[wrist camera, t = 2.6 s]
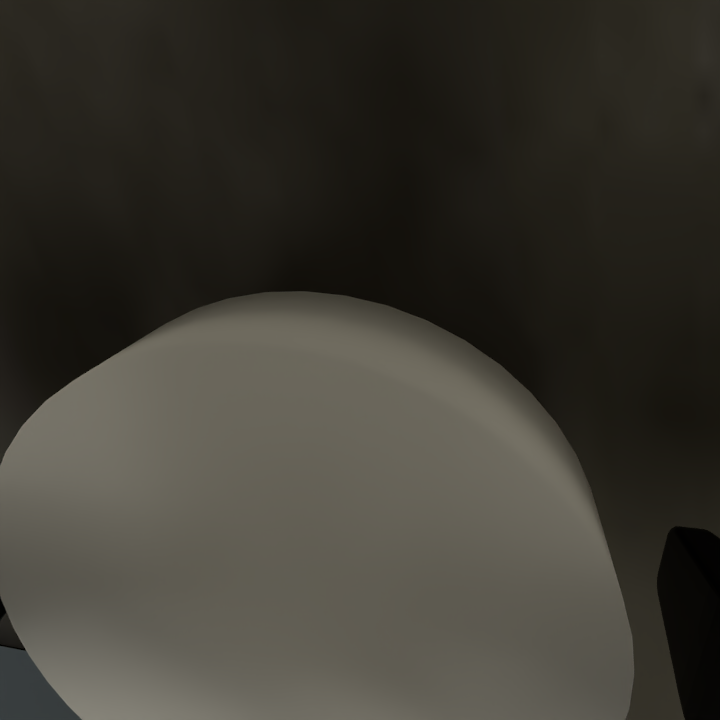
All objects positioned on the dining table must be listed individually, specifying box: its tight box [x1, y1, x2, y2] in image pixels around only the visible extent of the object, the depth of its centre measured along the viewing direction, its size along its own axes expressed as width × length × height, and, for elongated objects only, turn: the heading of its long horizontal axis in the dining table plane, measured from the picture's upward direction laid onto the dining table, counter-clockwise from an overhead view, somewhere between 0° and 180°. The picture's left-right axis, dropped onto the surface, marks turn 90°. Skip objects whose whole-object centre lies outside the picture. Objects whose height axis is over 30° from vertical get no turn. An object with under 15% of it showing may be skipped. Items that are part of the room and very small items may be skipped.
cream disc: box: [0, 291, 634, 720], centre depth 7 cm, size 7×7×2 cm
